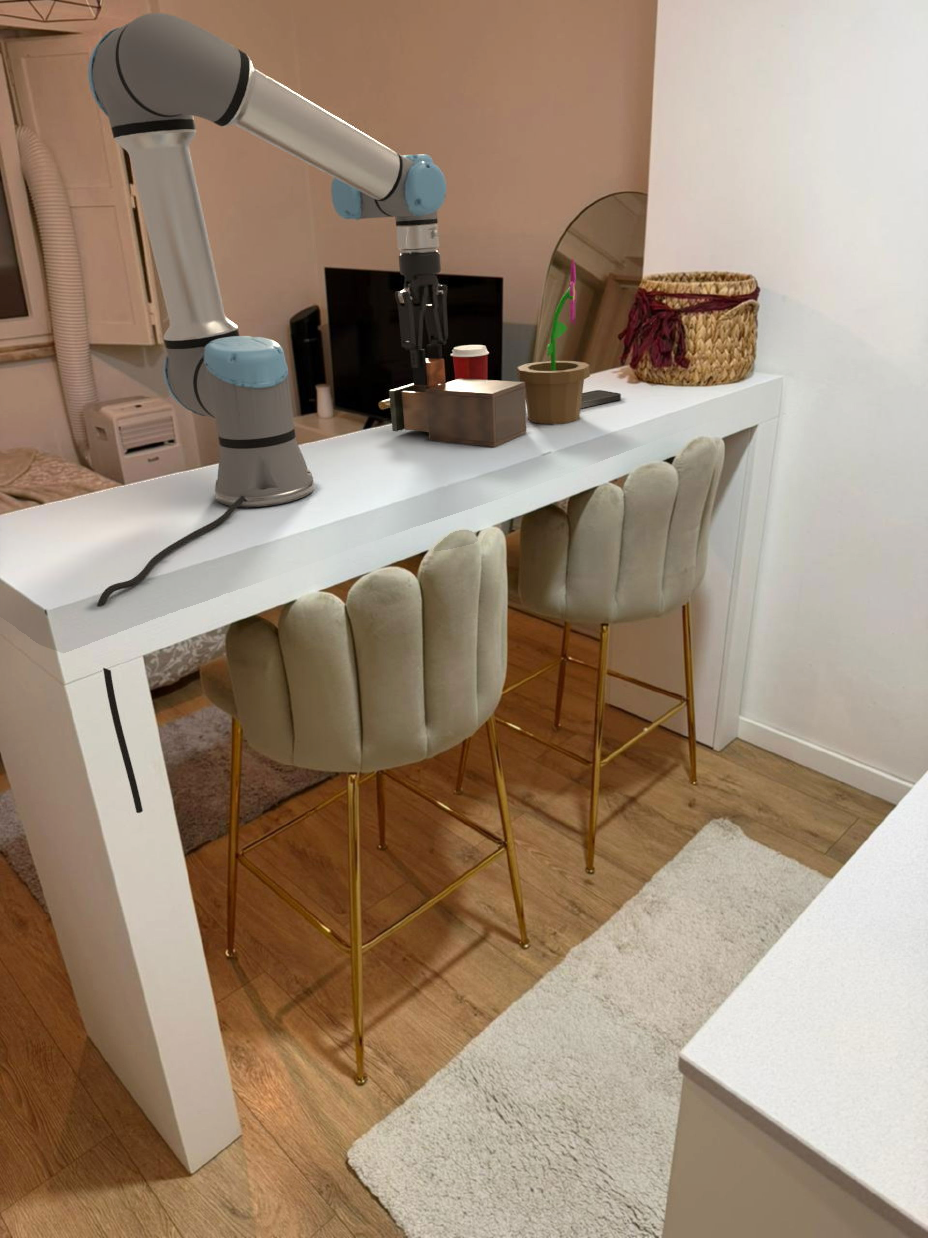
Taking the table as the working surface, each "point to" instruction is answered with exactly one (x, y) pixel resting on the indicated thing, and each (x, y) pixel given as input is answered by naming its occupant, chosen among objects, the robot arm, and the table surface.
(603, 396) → the phone
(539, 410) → the flowerpot
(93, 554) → the table surface
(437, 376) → the block
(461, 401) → the cabinet
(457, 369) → the paper cup
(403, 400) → the drawer
